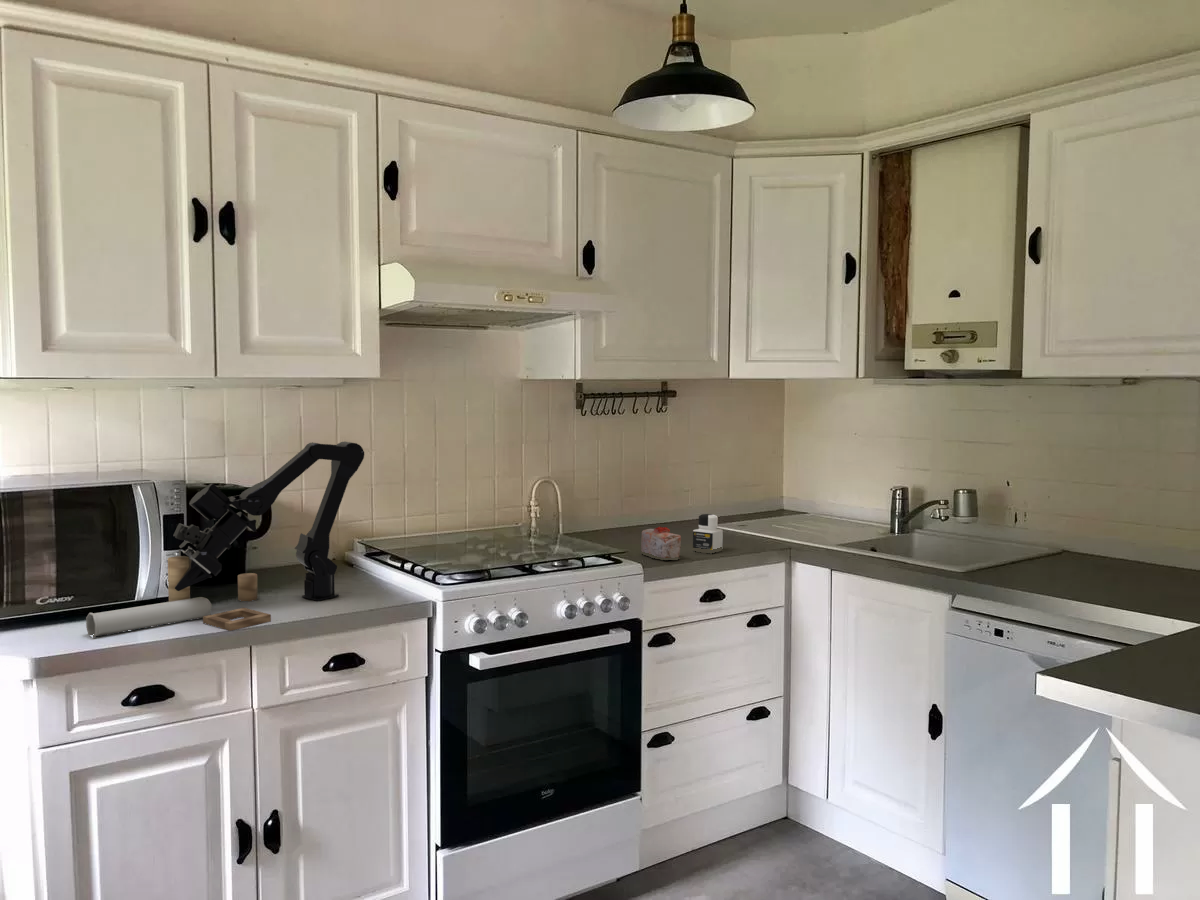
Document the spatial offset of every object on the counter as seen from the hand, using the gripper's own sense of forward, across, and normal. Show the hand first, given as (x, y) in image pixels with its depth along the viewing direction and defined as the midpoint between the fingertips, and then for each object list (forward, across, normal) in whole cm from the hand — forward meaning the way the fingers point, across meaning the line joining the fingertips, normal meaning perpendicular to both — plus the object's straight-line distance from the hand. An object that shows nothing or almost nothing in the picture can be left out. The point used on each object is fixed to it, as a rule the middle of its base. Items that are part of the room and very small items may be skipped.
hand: (172, 586), depth 207 cm
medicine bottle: (-106, +3, +116) cm, 157 cm away
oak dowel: (+4, 0, +6) cm, 7 cm away
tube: (+9, +7, +2) cm, 11 cm away
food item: (-92, +4, +102) cm, 137 cm away
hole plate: (-3, +14, +12) cm, 19 cm away
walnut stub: (-8, -7, +17) cm, 20 cm away
